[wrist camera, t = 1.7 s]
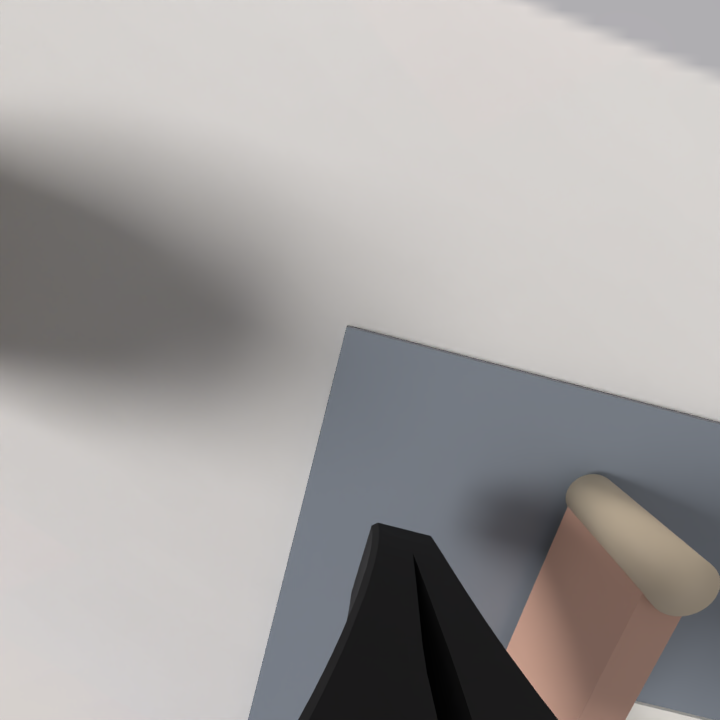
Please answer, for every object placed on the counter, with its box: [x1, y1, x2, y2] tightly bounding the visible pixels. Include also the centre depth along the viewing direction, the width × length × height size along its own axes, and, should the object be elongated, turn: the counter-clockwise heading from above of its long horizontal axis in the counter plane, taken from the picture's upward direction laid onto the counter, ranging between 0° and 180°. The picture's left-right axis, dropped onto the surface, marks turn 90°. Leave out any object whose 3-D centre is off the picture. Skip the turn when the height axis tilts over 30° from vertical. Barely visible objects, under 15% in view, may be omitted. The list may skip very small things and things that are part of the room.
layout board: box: [248, 326, 720, 720], centre depth 13 cm, size 21×18×1 cm
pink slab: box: [506, 474, 720, 720], centre depth 10 cm, size 8×1×3 cm, turn 166°
